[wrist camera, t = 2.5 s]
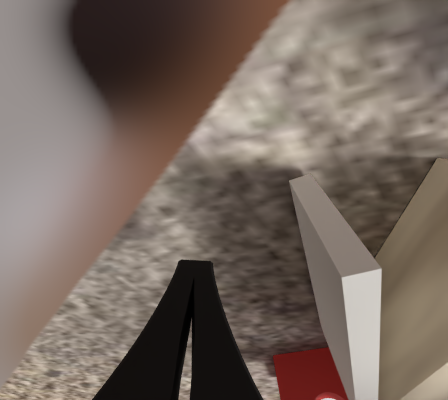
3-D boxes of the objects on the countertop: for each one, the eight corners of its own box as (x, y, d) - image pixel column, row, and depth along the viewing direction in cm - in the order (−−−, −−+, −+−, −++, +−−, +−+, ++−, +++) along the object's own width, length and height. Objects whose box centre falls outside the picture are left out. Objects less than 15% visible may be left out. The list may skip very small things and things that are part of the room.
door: (310, 173, 11) (381, 268, 6) (334, 323, 17) (377, 423, 13) (288, 180, 11) (341, 277, 6) (321, 326, 17) (358, 425, 13)
